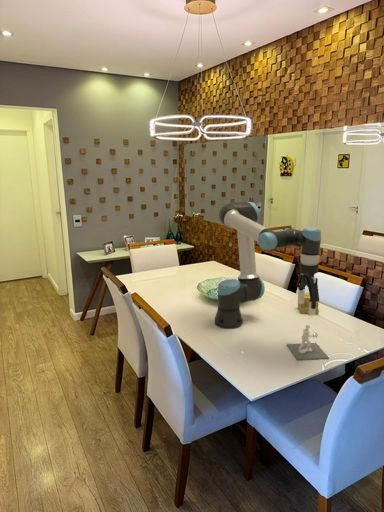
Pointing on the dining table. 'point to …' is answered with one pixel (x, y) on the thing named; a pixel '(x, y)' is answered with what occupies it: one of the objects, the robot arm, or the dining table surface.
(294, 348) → the mat
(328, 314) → the dining table surface
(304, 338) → the figurine
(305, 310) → the cheese
